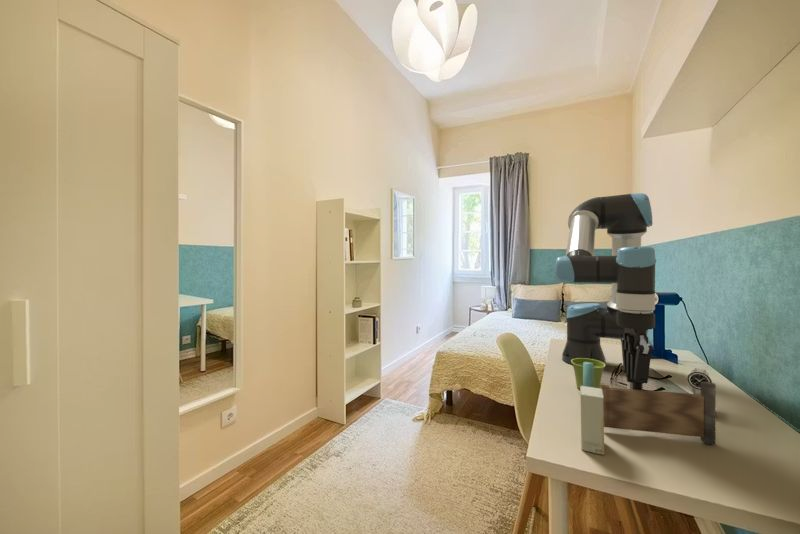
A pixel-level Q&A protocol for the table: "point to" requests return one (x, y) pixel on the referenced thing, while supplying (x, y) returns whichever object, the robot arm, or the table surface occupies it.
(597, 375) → the plant pot
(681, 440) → the table surface
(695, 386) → the watch
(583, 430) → the skincare box
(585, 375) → the post
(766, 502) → the table surface
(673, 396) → the gate
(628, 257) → the robot arm
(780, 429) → the table surface
